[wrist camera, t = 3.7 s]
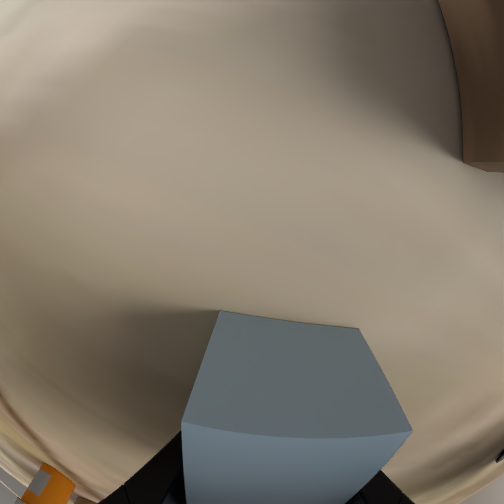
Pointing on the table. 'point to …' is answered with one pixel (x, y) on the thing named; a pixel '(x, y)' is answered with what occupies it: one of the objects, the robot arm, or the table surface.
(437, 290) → the table surface
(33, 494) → the toiletry set
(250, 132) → the table surface
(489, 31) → the block
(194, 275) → the table surface
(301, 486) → the peg
